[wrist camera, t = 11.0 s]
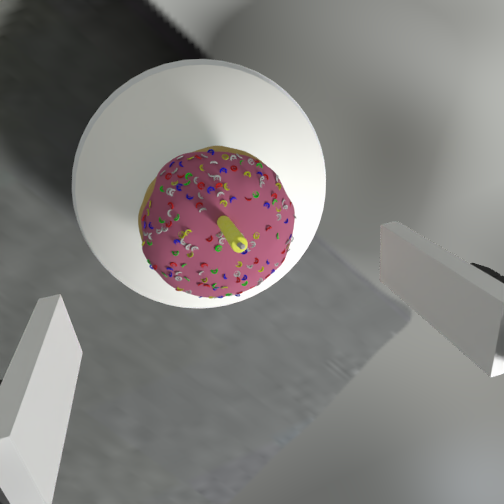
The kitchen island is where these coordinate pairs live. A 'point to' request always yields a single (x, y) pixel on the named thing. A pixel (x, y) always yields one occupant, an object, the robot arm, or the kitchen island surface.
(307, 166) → the cake stand
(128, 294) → the kitchen island surface
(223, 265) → the cupcake
